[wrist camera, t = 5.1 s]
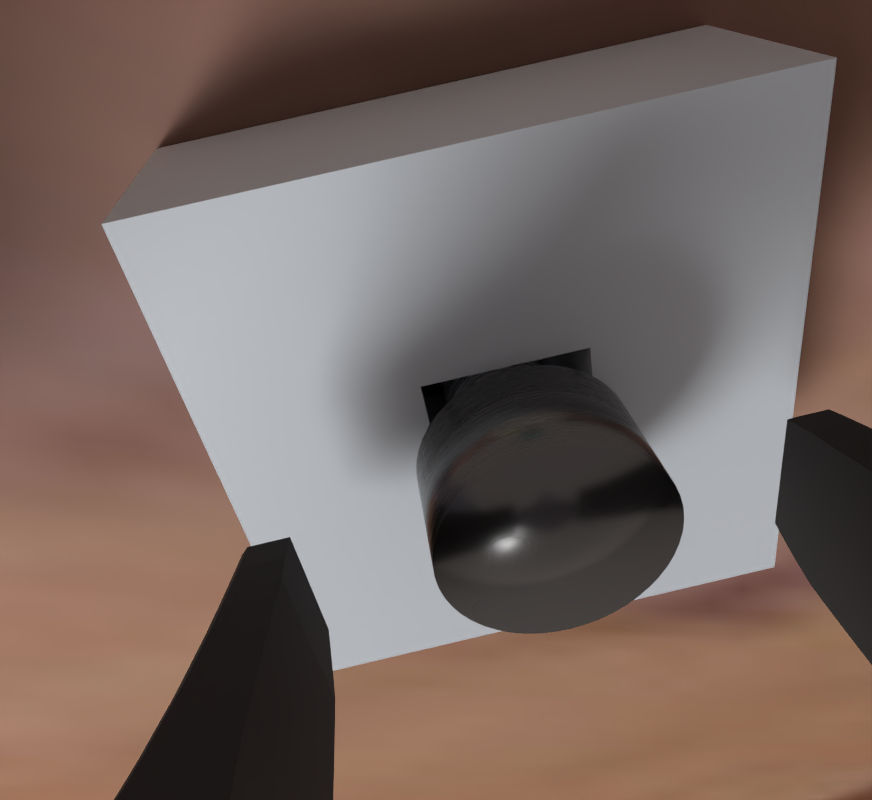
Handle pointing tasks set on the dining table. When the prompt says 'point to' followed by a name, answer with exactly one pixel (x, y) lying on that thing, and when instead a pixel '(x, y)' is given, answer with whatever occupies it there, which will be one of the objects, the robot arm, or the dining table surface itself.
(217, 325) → the grey block
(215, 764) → the robot arm
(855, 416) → the dining table surface
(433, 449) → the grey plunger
